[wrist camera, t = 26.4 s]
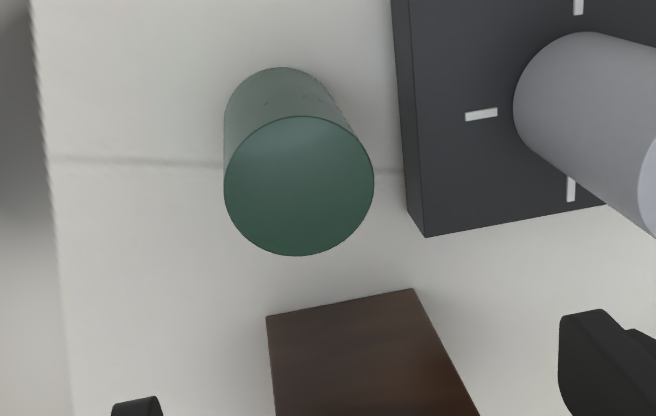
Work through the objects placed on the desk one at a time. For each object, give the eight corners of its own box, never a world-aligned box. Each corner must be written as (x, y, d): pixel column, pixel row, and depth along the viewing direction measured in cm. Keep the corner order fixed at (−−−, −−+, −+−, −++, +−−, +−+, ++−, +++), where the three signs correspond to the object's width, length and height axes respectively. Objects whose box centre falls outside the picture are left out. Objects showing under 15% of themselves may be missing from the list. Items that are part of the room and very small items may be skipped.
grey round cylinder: (564, 6, 25) (733, 43, 17) (660, 70, 27) (857, 133, 19) (487, 125, 27) (607, 215, 18) (582, 179, 29) (731, 282, 20)
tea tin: (235, 185, 29) (239, 268, 22) (213, 77, 27) (208, 130, 20) (343, 167, 30) (381, 242, 23) (329, 58, 28) (366, 104, 20)
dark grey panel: (407, 211, 31) (425, 240, 29) (388, -18, 27) (408, -12, 24) (667, 164, 33) (709, 187, 30) (692, -64, 28) (745, -63, 25)
